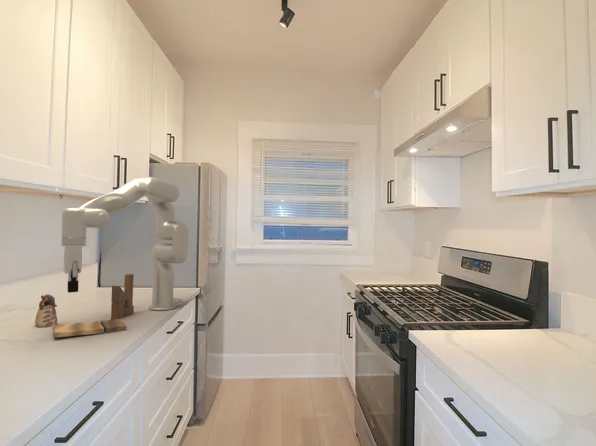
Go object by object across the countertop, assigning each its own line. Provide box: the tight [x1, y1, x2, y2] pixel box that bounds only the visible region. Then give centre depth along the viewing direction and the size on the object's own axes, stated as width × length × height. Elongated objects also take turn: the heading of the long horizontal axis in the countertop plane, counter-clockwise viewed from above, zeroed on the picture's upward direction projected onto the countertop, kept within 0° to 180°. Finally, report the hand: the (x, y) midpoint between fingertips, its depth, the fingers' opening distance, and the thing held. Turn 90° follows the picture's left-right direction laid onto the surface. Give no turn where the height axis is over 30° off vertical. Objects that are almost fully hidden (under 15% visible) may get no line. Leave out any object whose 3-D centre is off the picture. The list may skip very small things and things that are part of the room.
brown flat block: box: [99, 318, 127, 334], centre depth 135 cm, size 7×12×2 cm, turn 38°
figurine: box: [34, 293, 58, 328], centre depth 136 cm, size 7×7×12 cm
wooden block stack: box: [110, 273, 135, 320], centre depth 152 cm, size 4×11×18 cm, turn 172°
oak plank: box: [52, 320, 105, 338], centre depth 128 cm, size 15×12×2 cm
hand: (72, 291), depth 127 cm, fingers closed
